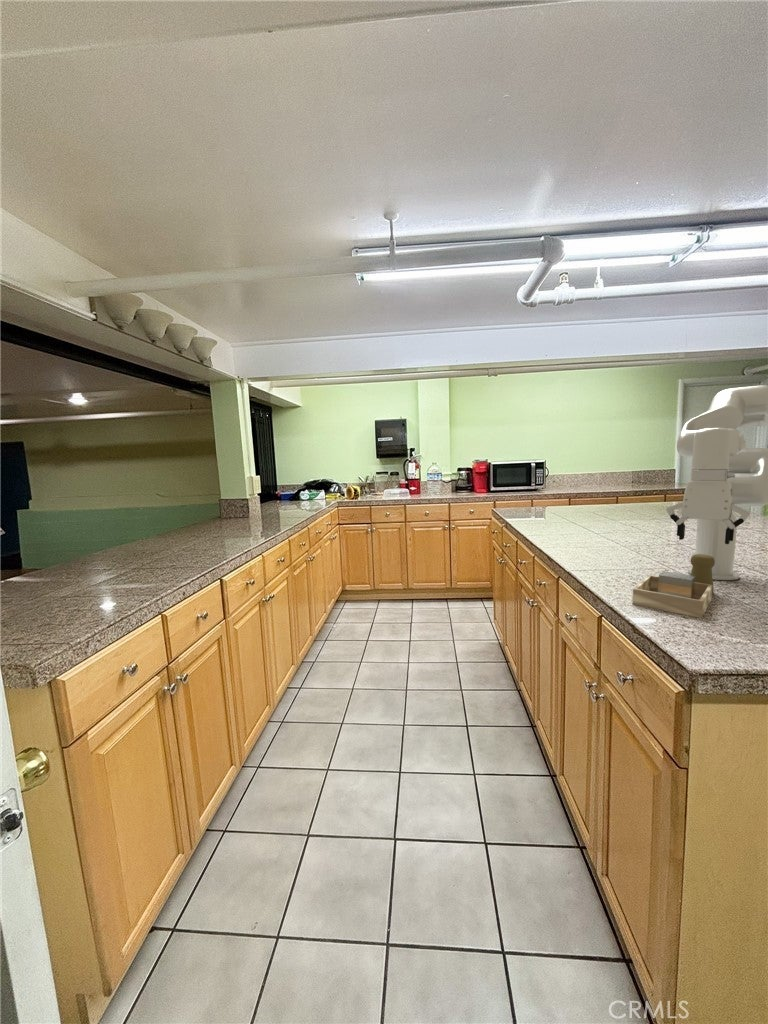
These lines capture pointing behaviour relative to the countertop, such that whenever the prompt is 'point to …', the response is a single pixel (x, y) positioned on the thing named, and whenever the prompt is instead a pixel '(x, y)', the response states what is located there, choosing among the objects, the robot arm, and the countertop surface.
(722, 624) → the countertop surface
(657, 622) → the countertop surface
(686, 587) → the tin
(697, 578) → the cork
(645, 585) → the tray
